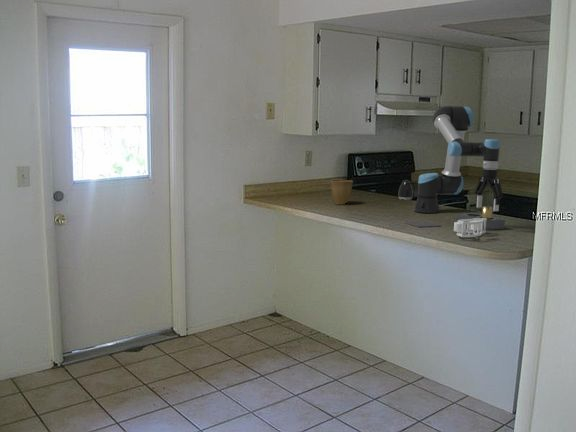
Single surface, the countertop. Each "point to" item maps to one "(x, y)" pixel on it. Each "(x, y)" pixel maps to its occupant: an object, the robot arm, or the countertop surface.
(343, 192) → the plant pot
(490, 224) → the block
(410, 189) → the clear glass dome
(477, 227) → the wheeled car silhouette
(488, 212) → the bushing
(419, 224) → the mat
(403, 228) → the countertop surface
